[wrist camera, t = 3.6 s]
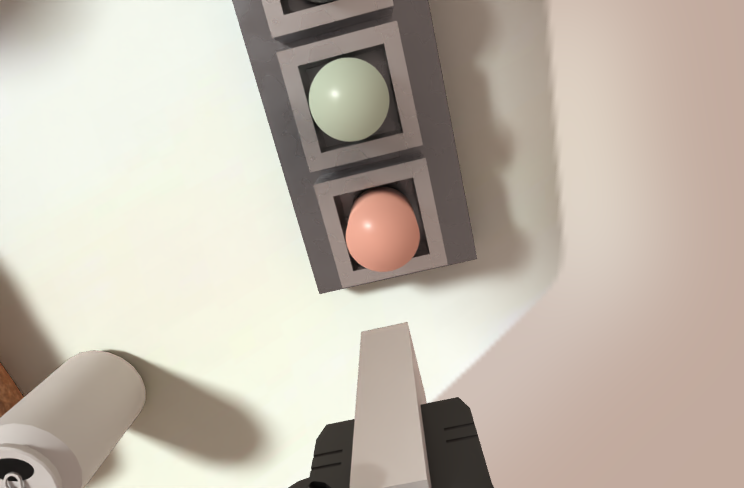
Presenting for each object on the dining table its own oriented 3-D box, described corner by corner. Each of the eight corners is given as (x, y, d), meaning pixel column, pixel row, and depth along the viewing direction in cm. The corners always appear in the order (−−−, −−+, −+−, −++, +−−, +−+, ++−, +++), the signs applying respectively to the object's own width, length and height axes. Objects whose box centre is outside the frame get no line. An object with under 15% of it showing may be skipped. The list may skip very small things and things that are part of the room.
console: (219, -79, 32) (181, -121, 26) (396, -131, 31) (401, -187, 25) (323, 279, 39) (313, 314, 33) (469, 246, 38) (487, 276, 32)
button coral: (342, 194, 33) (337, 210, 28) (406, 179, 32) (410, 192, 28) (358, 255, 34) (355, 278, 30) (420, 241, 34) (426, 262, 29)
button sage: (310, 72, 30) (299, 69, 26) (378, 54, 30) (378, 48, 26) (328, 142, 32) (321, 149, 27) (394, 125, 31) (397, 131, 27)
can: (143, 344, 41) (53, 440, 30) (156, 418, 44) (77, 535, 32) (56, 345, 41) (-67, 441, 30) (73, 420, 44) (-34, 536, 32)
